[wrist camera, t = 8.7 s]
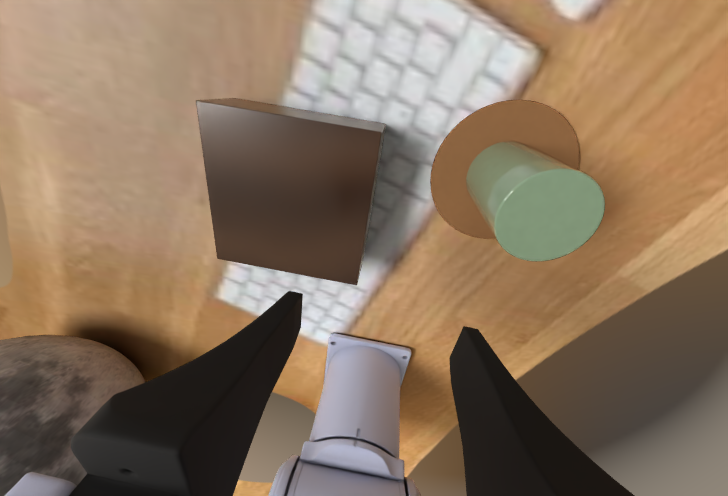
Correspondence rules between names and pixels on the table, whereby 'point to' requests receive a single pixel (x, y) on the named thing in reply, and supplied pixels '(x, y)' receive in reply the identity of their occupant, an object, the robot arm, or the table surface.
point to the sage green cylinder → (534, 201)
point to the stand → (290, 186)
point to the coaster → (480, 132)
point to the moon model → (53, 401)
